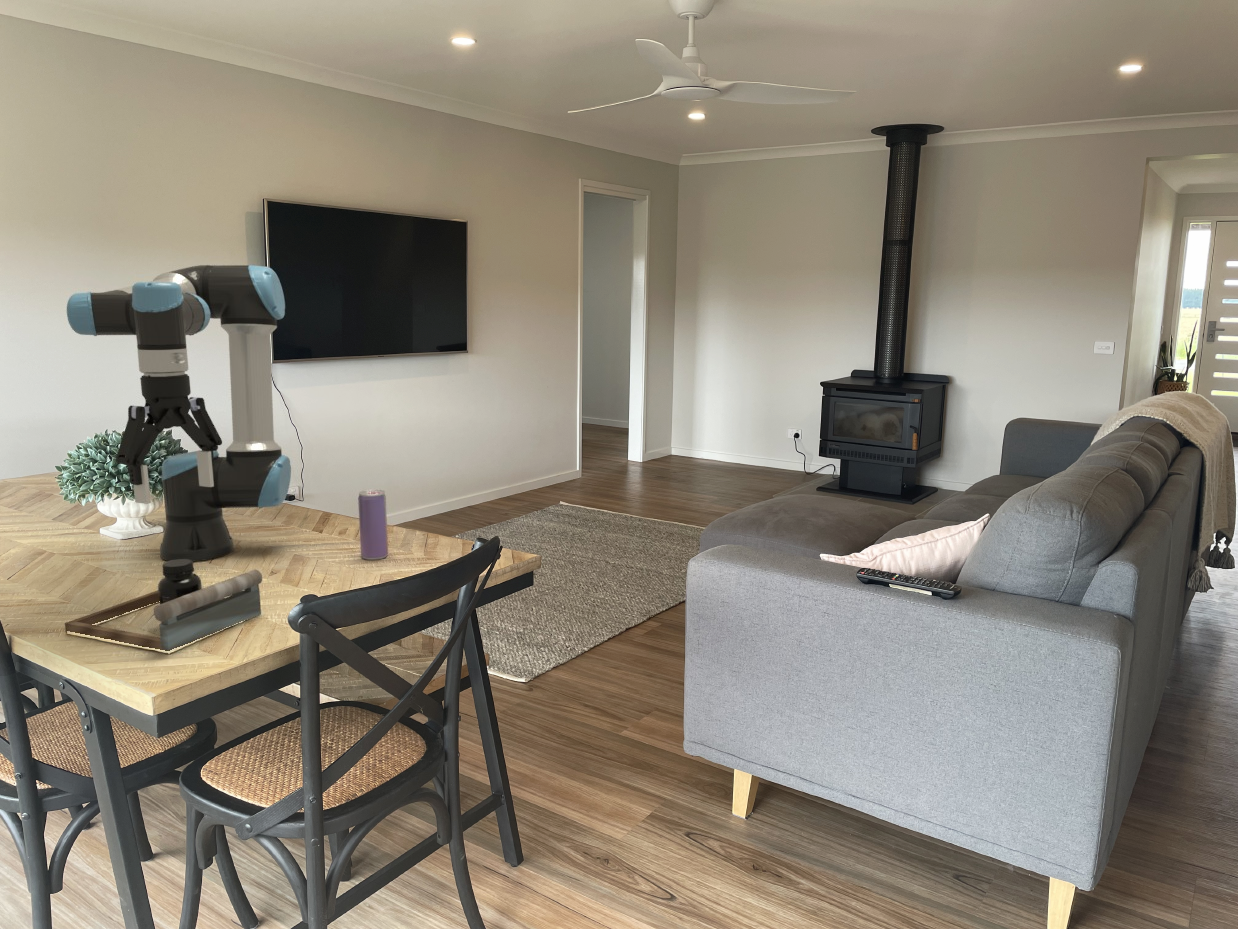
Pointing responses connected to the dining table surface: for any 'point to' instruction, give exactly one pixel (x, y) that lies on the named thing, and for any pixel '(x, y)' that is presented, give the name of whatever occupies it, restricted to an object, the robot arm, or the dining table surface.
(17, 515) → the dining table surface
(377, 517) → the beverage can
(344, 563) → the dining table surface
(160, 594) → the supplement bottle
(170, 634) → the bay
